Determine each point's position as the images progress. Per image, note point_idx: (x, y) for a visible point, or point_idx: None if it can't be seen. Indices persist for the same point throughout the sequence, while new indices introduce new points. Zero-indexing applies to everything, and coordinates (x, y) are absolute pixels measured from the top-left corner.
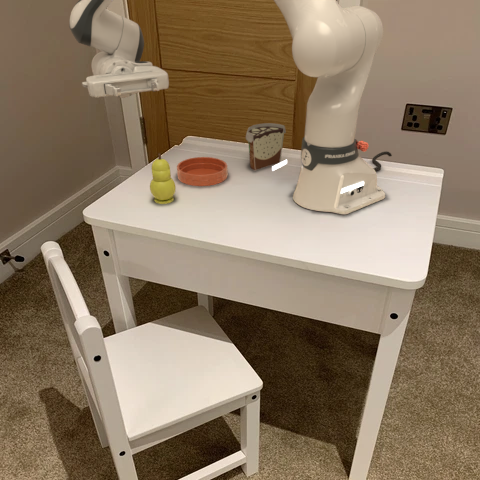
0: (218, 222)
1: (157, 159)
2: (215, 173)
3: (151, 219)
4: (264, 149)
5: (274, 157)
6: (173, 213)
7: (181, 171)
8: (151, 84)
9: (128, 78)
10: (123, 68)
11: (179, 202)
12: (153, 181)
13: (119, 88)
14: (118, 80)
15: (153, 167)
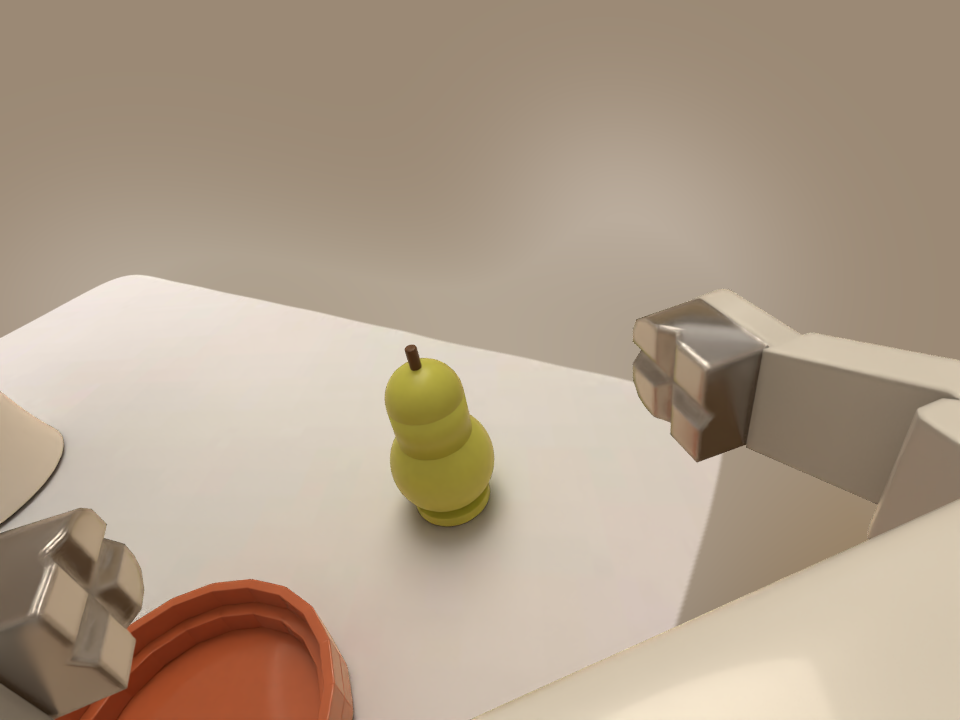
0: (321, 383)
1: (426, 366)
2: (174, 600)
3: (499, 390)
4: None
5: None
6: None
7: (322, 641)
8: (72, 575)
9: (545, 693)
10: None
11: None
12: (470, 417)
13: (653, 315)
14: (845, 551)
15: (453, 370)
